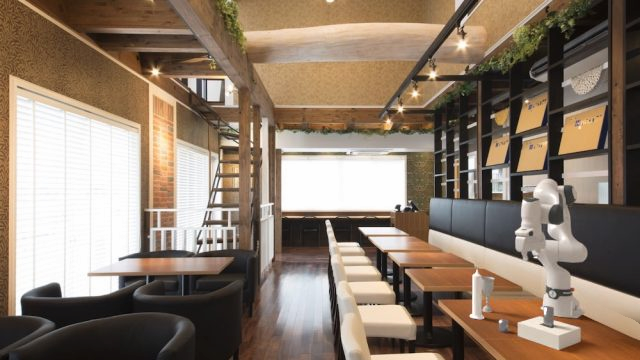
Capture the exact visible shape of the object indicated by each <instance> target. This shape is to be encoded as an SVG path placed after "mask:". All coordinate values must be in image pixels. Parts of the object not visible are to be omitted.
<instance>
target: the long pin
mask: <svg viewBox="0 0 640 360" xmlns="http://www.w3.org/2000/svg"><path fill="white" fill-rule="evenodd" d="M543 317H544V326H546V327H549V328H554V320H555V316H554V308H553V307H551V306H544V311H543Z"/></svg>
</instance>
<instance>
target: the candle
mask: <svg viewBox="0 0 640 360" xmlns="http://www.w3.org/2000/svg"><path fill="white" fill-rule="evenodd" d="M482 277H483V276H482V275H481V274H480V273H479V270H478V268H476V271H475V273H473V274H472V280H471V281H472V283H471V284H472V288H471V289H472V292H471V293H472V294H471V295H472V298H471V299H472V300H471V302H472V305H471V307H472V309H471V310H472V311H471V313H470V314H469V317H470V318H471V319H474V320H484V319H485V316H484V315H483V314H482V313H483V311H482V310H483V299H482V298H483V297H482V296H483V294H482V293H483V290H482Z"/></svg>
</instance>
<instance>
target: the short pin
mask: <svg viewBox="0 0 640 360" xmlns="http://www.w3.org/2000/svg"><path fill="white" fill-rule="evenodd" d="M498 332H500V333H505V334H508V333H509V320H508V319H503V318H499V319H498Z"/></svg>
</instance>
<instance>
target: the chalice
mask: <svg viewBox="0 0 640 360" xmlns="http://www.w3.org/2000/svg"><path fill="white" fill-rule="evenodd" d="M494 281H495V277H492V276H482V293H483V294H484V295H485V296H486V297H485V300H486V301H485V303H486V304H485V305H484V306H483V307H482V312H483V313H484V312H485V313H492V312H493V311H492V308H491V306H490V305H489V303H490V302H489V300H490V299H489V296H490V295H491V294H492V292H493V290H494V285H495V284H494V283H495V282H494Z"/></svg>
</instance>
